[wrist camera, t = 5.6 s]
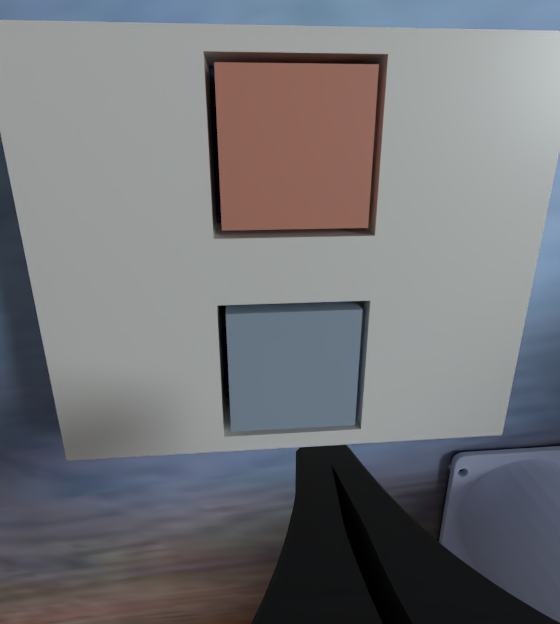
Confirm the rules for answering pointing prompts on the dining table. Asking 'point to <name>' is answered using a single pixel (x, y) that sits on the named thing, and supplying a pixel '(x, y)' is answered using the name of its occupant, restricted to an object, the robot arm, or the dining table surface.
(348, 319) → the slate blue key
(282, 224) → the brick red key
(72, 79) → the key panel
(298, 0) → the dining table surface
